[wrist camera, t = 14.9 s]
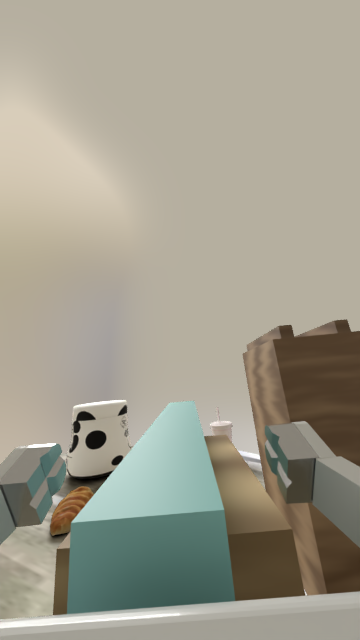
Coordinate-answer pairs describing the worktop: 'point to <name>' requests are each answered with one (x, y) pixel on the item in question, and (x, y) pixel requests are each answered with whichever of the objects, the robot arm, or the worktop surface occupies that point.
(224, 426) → the smoothie
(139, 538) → the long teal plank
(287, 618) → the robot arm
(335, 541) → the button stand
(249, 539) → the oak block
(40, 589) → the worktop surface
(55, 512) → the pastry
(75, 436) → the milk container
